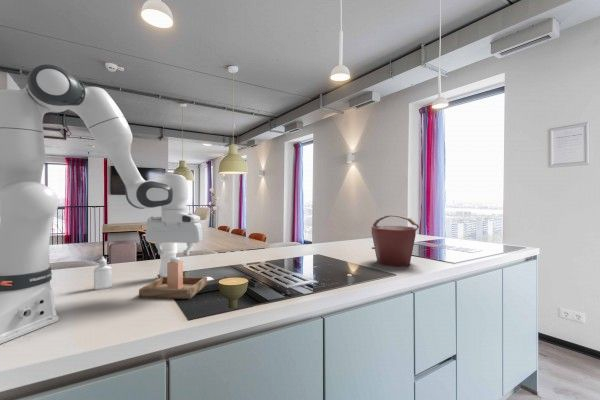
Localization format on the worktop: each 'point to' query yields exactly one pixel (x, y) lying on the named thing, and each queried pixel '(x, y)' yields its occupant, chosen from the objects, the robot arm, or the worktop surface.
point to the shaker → (175, 273)
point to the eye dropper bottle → (102, 275)
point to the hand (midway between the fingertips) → (173, 254)
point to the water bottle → (167, 256)
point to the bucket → (394, 243)
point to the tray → (160, 289)
